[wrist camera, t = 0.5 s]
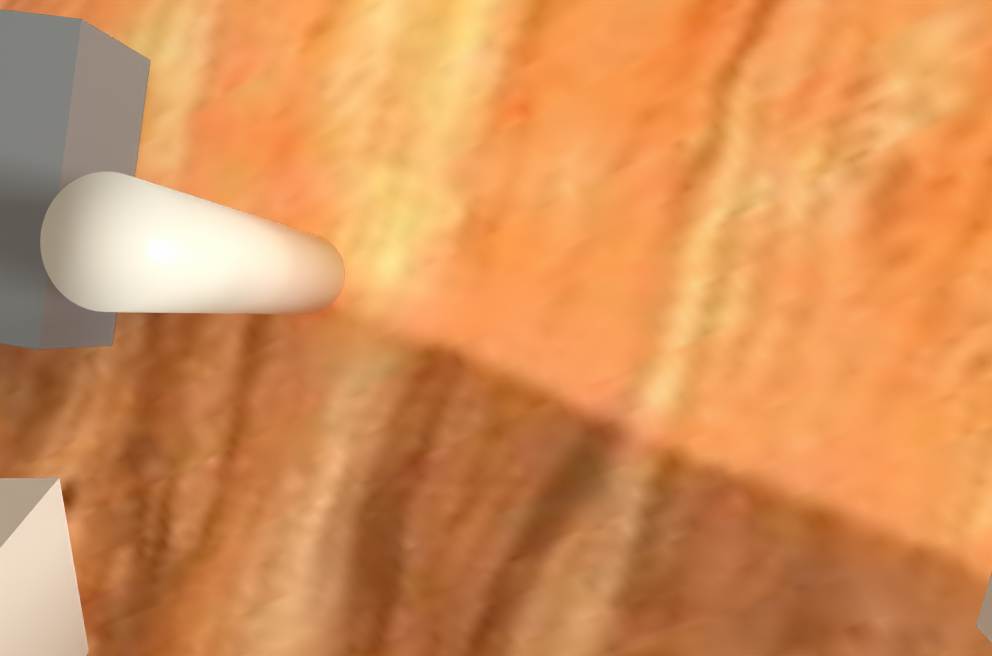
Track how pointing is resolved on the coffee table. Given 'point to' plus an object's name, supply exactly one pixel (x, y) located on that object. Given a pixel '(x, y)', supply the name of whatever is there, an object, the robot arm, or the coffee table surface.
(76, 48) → the hole block
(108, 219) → the tall pin
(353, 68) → the coffee table surface
